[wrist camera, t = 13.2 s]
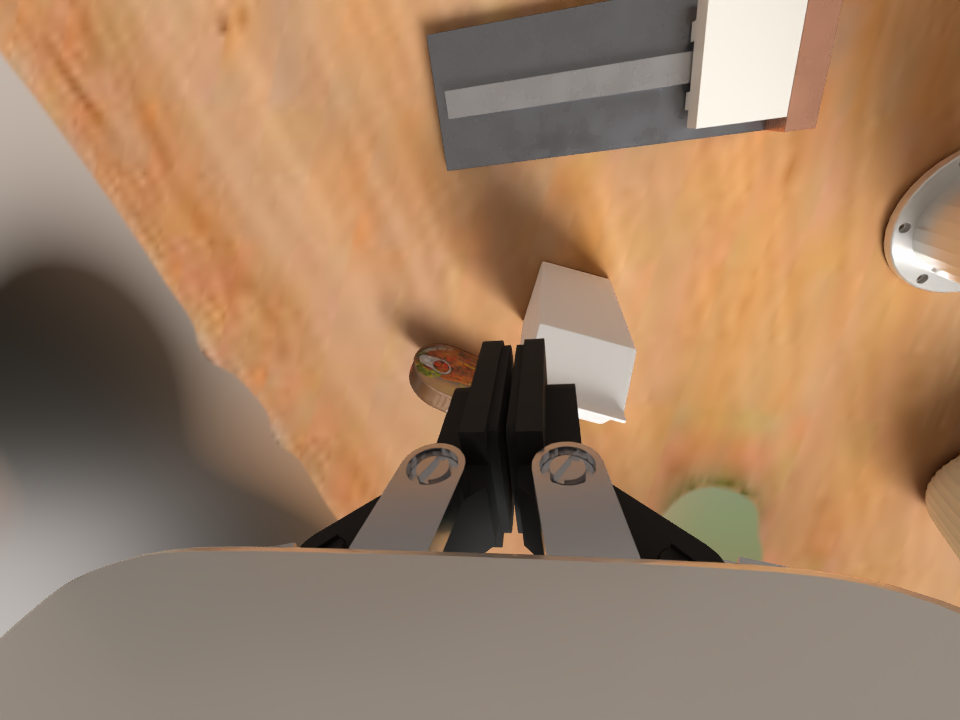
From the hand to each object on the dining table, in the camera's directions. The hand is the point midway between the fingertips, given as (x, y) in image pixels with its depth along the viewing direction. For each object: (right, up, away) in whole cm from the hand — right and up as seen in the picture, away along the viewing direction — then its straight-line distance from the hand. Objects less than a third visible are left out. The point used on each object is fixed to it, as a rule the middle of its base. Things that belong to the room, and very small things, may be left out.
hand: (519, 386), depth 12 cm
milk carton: (+8, +7, +34) cm, 35 cm away
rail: (+9, +24, +24) cm, 35 cm away
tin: (-1, 0, +39) cm, 39 cm away
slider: (+18, +23, +20) cm, 36 cm away
